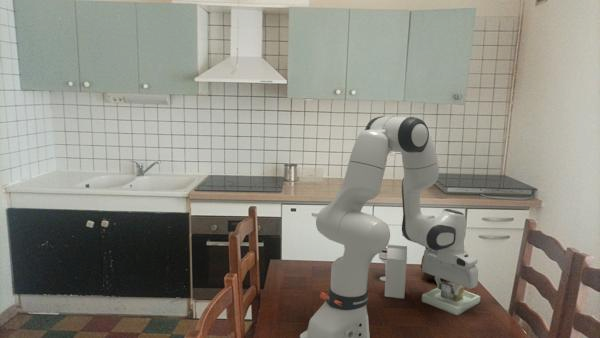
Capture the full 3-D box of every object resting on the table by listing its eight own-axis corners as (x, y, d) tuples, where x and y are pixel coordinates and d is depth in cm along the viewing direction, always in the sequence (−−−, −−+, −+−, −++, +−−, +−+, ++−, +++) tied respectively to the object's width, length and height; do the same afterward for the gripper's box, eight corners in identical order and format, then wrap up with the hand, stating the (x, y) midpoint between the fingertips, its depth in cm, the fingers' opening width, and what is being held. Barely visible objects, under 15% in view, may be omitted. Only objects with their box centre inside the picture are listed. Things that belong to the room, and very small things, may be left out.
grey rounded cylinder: (454, 299, 154) (455, 286, 154) (442, 298, 155) (443, 285, 154) (451, 294, 159) (452, 281, 158) (439, 293, 159) (440, 280, 158)
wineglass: (393, 276, 181) (395, 248, 180) (394, 282, 175) (396, 254, 173) (377, 274, 182) (378, 247, 180) (377, 281, 176) (379, 252, 174)
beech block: (456, 301, 157) (457, 290, 157) (445, 297, 161) (446, 286, 160) (463, 298, 160) (464, 286, 159) (451, 294, 164) (452, 282, 163)
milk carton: (404, 299, 160) (407, 249, 157) (384, 296, 162) (387, 247, 159) (403, 291, 167) (406, 243, 164) (384, 289, 169) (387, 241, 166)
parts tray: (457, 315, 149) (457, 308, 148) (421, 301, 159) (422, 294, 159) (479, 302, 159) (480, 296, 159) (445, 289, 169) (445, 283, 169)
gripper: (419, 248, 160) (417, 284, 162) (472, 264, 145) (469, 304, 147) (429, 245, 164) (426, 280, 166) (482, 260, 149) (478, 298, 151)
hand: (447, 291), depth 156 cm, fingers closed on grey rounded cylinder, 4 cm apart
